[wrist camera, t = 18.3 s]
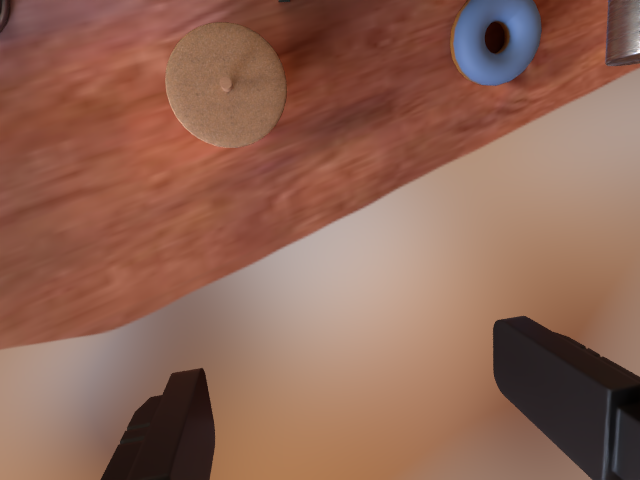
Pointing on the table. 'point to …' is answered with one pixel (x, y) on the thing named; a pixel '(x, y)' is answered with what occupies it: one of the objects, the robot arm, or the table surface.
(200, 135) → the trinket box
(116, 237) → the table surface
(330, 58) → the table surface
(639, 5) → the hammer
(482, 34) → the doughnut
